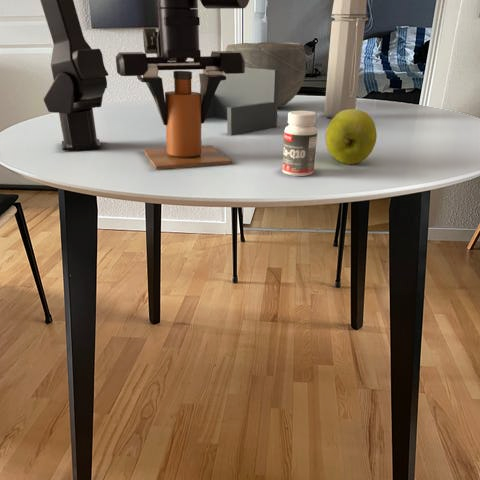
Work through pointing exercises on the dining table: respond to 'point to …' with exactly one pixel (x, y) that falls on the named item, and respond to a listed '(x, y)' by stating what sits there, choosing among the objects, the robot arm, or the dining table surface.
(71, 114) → the robot arm
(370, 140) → the apple
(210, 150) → the wooden square board
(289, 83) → the bowl
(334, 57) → the water bottle
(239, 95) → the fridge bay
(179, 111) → the amber bottle
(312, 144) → the pill bottle
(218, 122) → the dining table surface
